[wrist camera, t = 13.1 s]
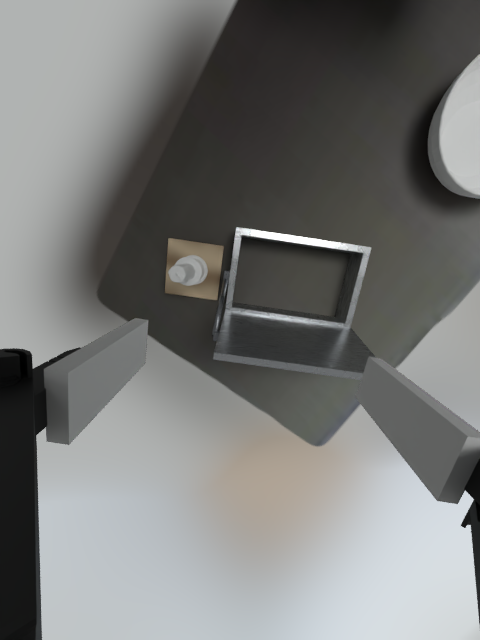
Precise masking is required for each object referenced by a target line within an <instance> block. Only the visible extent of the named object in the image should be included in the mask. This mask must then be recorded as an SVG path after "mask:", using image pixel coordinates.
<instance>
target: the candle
mask: <svg viewBox="0 0 480 640" xmlns="http://www.w3.org/2000/svg"><path fill="white" fill-rule="evenodd" d="M207 273H208V268H207V265H206V263H205V261H204V260H203V259H202V258H200V257H199V256H196V255H189V256H187V257H183V258H181V259H179V260H178V261H177V262H176V263H175V265H174V266H172V267H171V268H170V270H169V271H168V274H169V277H170V279H171V281H173V282H177V283H181V284H183V285H186V286H191V285H196V284H200V283H201V282H203V281H204V280H205V278H206V277H207Z"/></svg>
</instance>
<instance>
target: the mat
mask: <svg viewBox="0 0 480 640" xmlns="http://www.w3.org/2000/svg"><path fill="white" fill-rule="evenodd" d="M223 249H224V246H219V245H212V244H206V243H199V242H192V241H185V240H179V239H172V238H168V253H167V268H166V283H165V293H169V294H176V295H183V296H190V297H197V298H204V299H211V300H217V299H218V290H219V282H220V274H221V266H222V257H223ZM189 255H196V256H199V257H200V258H202V259H203V260H204V261H205V263H206V265H207V268H208V273H207V277H206V278H205V280H204V281H203V282H201V283H200V284H196V285H191V286H186V285H183V284H181V283H177V282H173V281H171V279H170V277H169V274H168V271H169V270H170V268H171V267H172V266H174V265H175V263H176V262H177V261H178V260H179V259H181V258H183V257H187V256H189Z"/></svg>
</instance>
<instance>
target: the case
mask: <svg viewBox="0 0 480 640" xmlns="http://www.w3.org/2000/svg"><path fill="white" fill-rule="evenodd" d="M242 237H243V238H250V239H257V240H263V241H270V242H277V243H283V244H290V245H297V246H303V247H310V248H317V249H324V250H330V251H337V252H344V253H350V258H349V262H348V266H347V270H346V274H345V278H344V283H343V287H342V291H341V295H340V299H339V303H338V307H337V311H336V315H335V317H331V316H324V315H317V314H310V313H303V312H296V311H290V310H283V309H276V308H269V307H262V306H255V305H248V304H241V303H234V302H233V297H234V290H235V283H236V275H237V268H238V261H239V254H240V246H241V239H242ZM370 251H371V247H365V246H358V245H352V244H345V243H338V242H332V241H325V240H318V239H312V238H305V237H298V236H292V235H285V234H278V233H272V232H265V231H258V230H252V229H245V228H238V227H236V232H235V240H234V247H233V255H232V262H231V270H230V271H228V270H225V271H224V277H223V284H222V289H221V293H220V298H219V303H218V308H217V313H216V318H215V322H214V327H213V332H212V336H213V341H217V343H216V347H215V351H214V358H213V359H214V360H221V361H228V362H235V363H242V364H250V365H257V366H264V367H271V368H278V369H285V370H293V371H300V372H307V373H314V374H321V375H328V376H335V377H343V378H350V379H357V380H361V379H362V375H363V372H364V369H365V366H366V363H367V360H368V357H374V358H376V357H375V356H374V354H373V353H372V352H371V351H370V350H369V349H368V347H367V346H366V345H365V344H364V343H363V342H362V340H361V339H360V338H359V337H358V336H357V334H356V333H355V332H354V331H353V330H352V329H351V327H350V326H351V323H352V319H353V315H354V311H355V308H356V304H357V300H358V296H359V293H360V289H361V285H362V281H363V278H364V274H365V270H366V266H367V262H368V259H369V255H370ZM227 283H229V285H228V293H227V301H226V308H225V313H224V316H223V320H222V324H221V328H220V331H219V325H220V320H221V315H222V310H223V304H224V299H225V294H226V289H227Z"/></svg>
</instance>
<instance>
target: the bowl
mask: <svg viewBox="0 0 480 640" xmlns="http://www.w3.org/2000/svg"><path fill="white" fill-rule="evenodd" d="M428 156H429V161H430V165H431V167H432V170H433V172H434V174H435V176H436V177H437V179H438V180H439V181H440V183H441V184H442V185H443V186H445V187H446V188H447V189H448V190H450V191H452V192H454V193H456V194H458V195H461V196H466V197H471V198H477V199H480V54H479V55H478V56H477V57H476V58H475V59H474V60H473V61H472V62H471V63H470V64H469V65H468V66H467V67H466V68H465V69H464V70H463V71H462V72H461V73H460V74H459V75H458V76H457V77H456V79H455V80H454V81H453V83H452V84H451V86H450V87H449V88H448V90H447V91H446V93H445V94H444V96H443V98H442V99H441V101H440V103H439V105H438V107H437V109H436V111H435V113H434V115H433V119H432V122H431V125H430V128H429V135H428Z"/></svg>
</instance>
